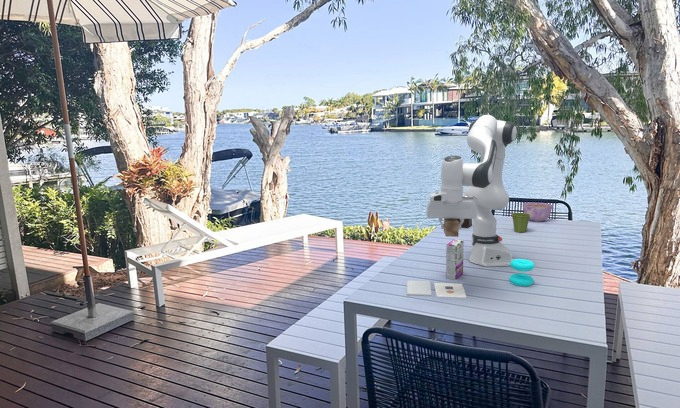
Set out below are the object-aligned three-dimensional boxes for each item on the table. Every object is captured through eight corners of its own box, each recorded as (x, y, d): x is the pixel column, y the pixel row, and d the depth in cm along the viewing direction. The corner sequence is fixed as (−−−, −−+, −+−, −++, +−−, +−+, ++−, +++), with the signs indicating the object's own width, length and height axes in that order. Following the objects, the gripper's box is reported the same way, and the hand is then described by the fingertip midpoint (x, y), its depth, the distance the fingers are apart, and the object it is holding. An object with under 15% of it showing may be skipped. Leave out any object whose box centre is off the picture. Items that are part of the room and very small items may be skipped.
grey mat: (429, 283, 197) (429, 281, 197) (431, 296, 182) (431, 294, 182) (406, 282, 199) (406, 280, 199) (406, 296, 183) (407, 293, 183)
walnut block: (455, 230, 188) (456, 217, 187) (458, 236, 179) (458, 222, 178) (443, 230, 189) (444, 216, 188) (445, 236, 179) (446, 222, 178)
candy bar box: (453, 271, 212) (453, 238, 209) (463, 273, 210) (464, 239, 207) (445, 278, 203) (446, 244, 200) (456, 280, 200) (456, 245, 197)
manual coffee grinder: (456, 223, 313) (457, 198, 310) (472, 225, 307) (473, 199, 304) (449, 228, 300) (450, 202, 297) (465, 230, 294) (466, 203, 291)
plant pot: (531, 230, 289) (532, 213, 287) (528, 234, 279) (529, 216, 277) (512, 228, 295) (513, 212, 293) (508, 232, 286) (509, 215, 284)
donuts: (538, 264, 189) (514, 265, 189) (537, 287, 190) (513, 287, 191) (529, 257, 198) (506, 258, 199) (528, 279, 200) (505, 279, 200)
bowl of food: (525, 223, 310) (526, 207, 308) (518, 217, 329) (519, 202, 327) (555, 223, 306) (556, 207, 304) (547, 217, 326) (548, 202, 324)
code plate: (461, 284, 195) (461, 283, 195) (466, 298, 180) (466, 297, 180) (434, 283, 197) (434, 282, 197) (436, 297, 181) (436, 296, 181)
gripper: (476, 194, 183) (475, 227, 185) (426, 194, 186) (426, 226, 188) (479, 197, 177) (478, 230, 179) (427, 197, 180) (426, 230, 182)
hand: (450, 228), depth 184 cm, fingers closed on walnut block, 5 cm apart
